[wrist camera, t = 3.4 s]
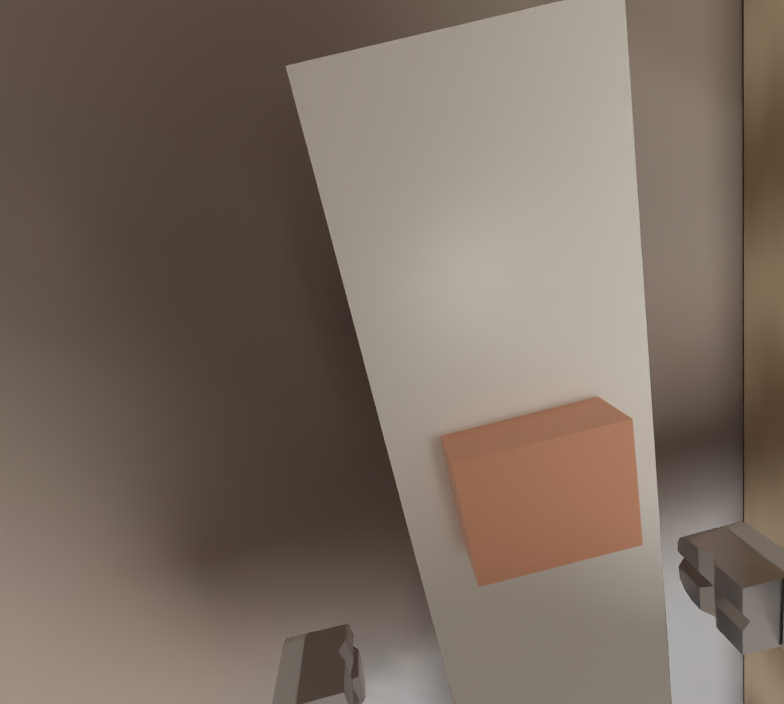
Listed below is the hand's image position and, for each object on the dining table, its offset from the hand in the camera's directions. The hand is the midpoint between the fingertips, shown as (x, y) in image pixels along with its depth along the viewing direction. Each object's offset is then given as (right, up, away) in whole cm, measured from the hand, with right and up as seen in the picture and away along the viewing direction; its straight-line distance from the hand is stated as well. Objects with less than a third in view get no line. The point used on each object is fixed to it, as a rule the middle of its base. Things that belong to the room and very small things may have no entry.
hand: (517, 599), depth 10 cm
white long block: (0, +1, +4) cm, 4 cm away
